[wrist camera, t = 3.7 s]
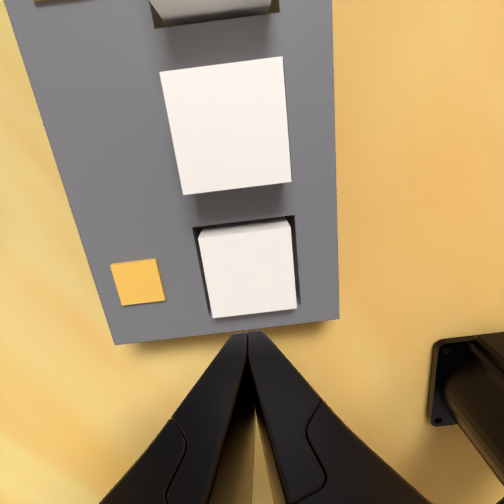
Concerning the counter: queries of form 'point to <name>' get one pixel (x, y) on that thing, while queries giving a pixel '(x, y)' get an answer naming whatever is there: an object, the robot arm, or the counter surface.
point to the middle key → (229, 124)
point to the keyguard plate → (164, 160)
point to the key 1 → (207, 10)
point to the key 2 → (248, 266)
